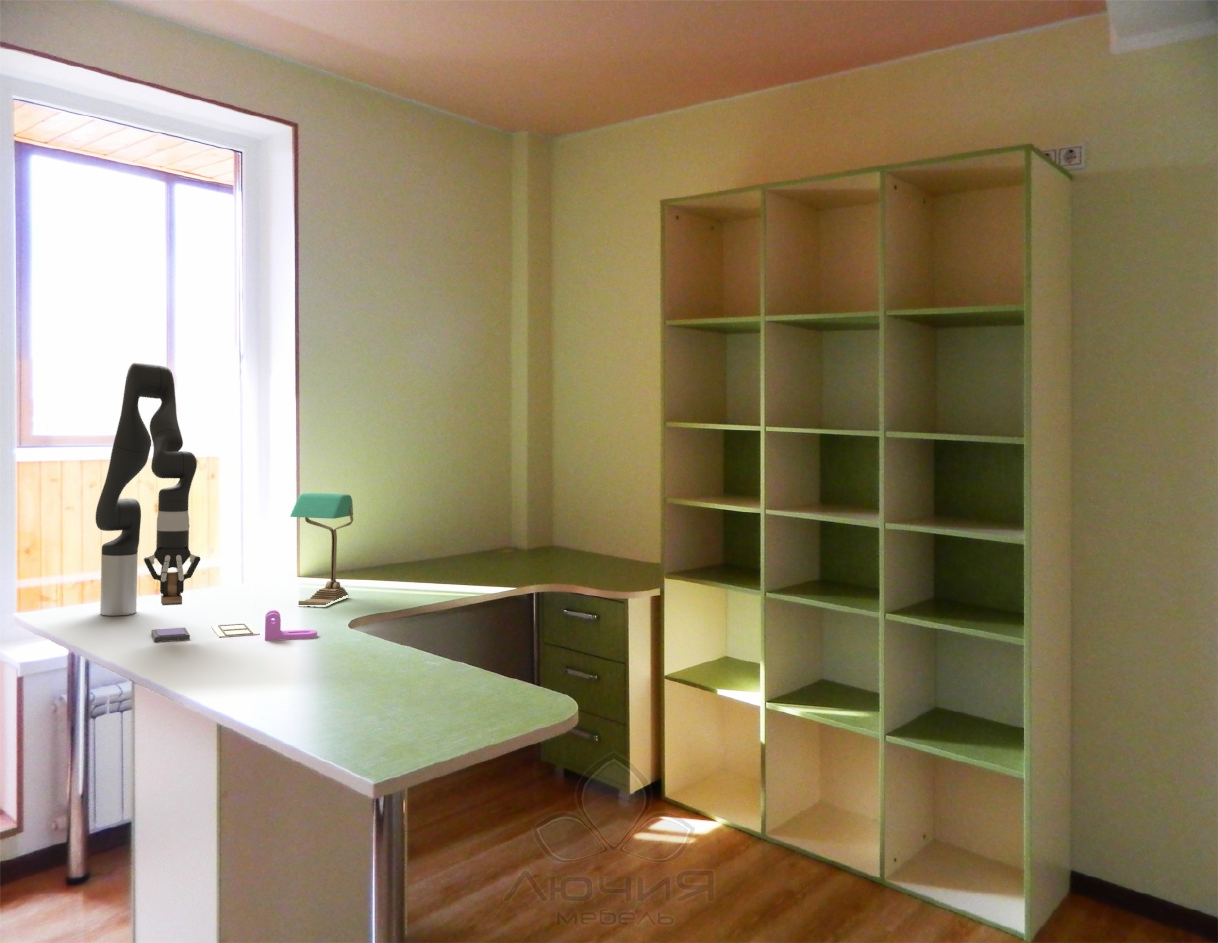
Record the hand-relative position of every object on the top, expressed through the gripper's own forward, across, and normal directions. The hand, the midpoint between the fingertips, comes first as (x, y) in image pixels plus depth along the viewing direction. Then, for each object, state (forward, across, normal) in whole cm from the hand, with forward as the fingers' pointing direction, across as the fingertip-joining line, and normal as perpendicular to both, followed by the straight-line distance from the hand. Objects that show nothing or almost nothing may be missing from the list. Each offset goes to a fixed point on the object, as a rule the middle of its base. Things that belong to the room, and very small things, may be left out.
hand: (171, 594), depth 236 cm
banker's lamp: (+11, -48, -38) cm, 62 cm away
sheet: (+11, -16, -2) cm, 19 cm away
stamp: (+2, 0, 0) cm, 2 cm away
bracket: (+11, -28, +11) cm, 32 cm away
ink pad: (+11, 0, 0) cm, 11 cm away
